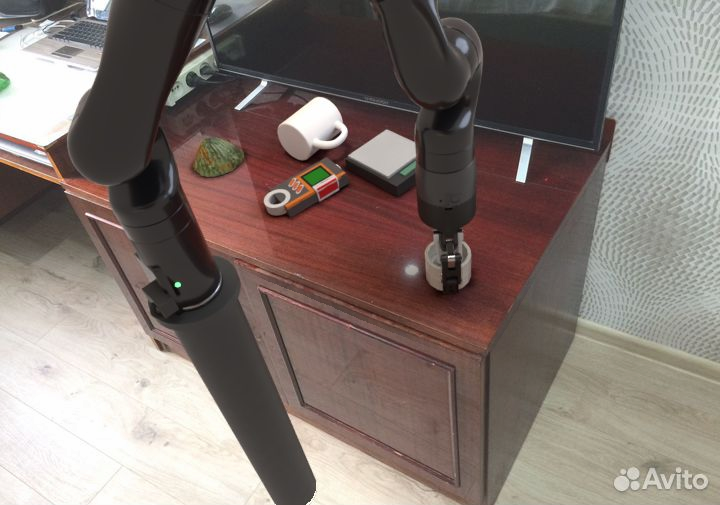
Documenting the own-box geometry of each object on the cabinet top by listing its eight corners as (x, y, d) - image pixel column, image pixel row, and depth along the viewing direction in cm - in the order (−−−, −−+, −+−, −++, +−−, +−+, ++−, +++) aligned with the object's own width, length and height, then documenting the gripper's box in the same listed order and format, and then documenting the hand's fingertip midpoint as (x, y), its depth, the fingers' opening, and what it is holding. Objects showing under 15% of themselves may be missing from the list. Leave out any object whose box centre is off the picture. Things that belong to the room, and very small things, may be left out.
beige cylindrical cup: (451, 300, 84) (450, 277, 80) (417, 279, 87) (415, 255, 84) (479, 274, 86) (480, 250, 83) (445, 254, 90) (445, 231, 86)
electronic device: (256, 195, 103) (327, 154, 107) (261, 207, 105) (331, 167, 109) (275, 214, 98) (348, 171, 103) (279, 226, 101) (351, 184, 105)
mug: (282, 154, 114) (272, 118, 109) (315, 127, 119) (307, 92, 114) (329, 172, 108) (322, 135, 103) (362, 143, 113) (356, 107, 108)
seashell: (197, 165, 108) (180, 141, 115) (202, 183, 111) (185, 158, 117) (248, 147, 111) (228, 124, 118) (252, 165, 114) (232, 142, 121)
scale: (397, 197, 101) (396, 183, 99) (346, 169, 108) (344, 155, 106) (440, 165, 106) (439, 151, 104) (388, 140, 113) (386, 126, 111)
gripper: (413, 153, 80) (420, 241, 92) (418, 226, 70) (425, 314, 82) (469, 148, 79) (469, 237, 91) (483, 221, 69) (480, 311, 81)
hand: (448, 273), depth 86 cm, fingers closed on beige cylindrical cup, 6 cm apart
